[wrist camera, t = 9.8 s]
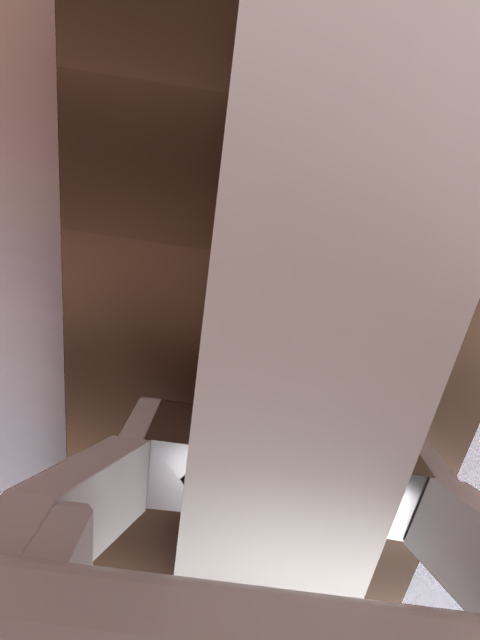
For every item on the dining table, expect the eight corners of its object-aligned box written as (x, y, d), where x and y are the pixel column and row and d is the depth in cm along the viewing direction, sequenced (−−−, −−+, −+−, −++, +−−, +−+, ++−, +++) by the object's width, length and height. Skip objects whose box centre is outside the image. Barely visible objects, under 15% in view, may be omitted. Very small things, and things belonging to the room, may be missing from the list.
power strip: (280, 568, 15) (301, 804, 9) (187, 556, 15) (147, 788, 9) (407, 75, 9) (705, -162, 3) (253, 49, 9) (260, -243, 3)
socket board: (351, 586, 17) (373, 666, 14) (101, 555, 16) (71, 630, 13) (550, 35, 9) (680, -37, 7) (112, -39, 9) (51, -146, 6)
